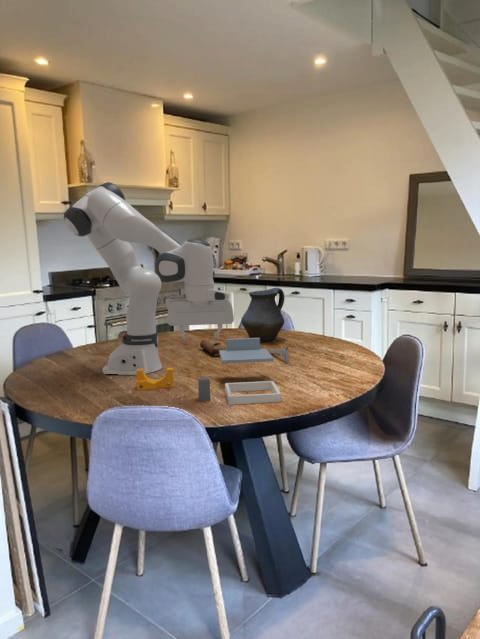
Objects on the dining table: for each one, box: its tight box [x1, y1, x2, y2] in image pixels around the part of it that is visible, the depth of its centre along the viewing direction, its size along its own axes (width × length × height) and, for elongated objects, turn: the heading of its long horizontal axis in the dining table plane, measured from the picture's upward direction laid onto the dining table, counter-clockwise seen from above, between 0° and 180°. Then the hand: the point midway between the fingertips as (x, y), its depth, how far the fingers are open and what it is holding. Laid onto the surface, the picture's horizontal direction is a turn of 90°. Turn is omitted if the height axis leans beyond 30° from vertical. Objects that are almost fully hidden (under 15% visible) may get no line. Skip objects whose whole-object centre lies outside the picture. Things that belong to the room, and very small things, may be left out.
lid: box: [219, 337, 274, 364], centre depth 177 cm, size 17×15×5 cm
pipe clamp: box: [135, 367, 175, 391], centre depth 174 cm, size 12×4×6 cm, turn 93°
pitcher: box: [240, 287, 285, 343], centre depth 245 cm, size 21×22×25 cm
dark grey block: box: [197, 376, 211, 402], centre depth 160 cm, size 4×4×7 cm
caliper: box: [268, 346, 290, 364], centre depth 211 cm, size 20×1×6 cm, turn 17°
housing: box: [224, 380, 282, 406], centre depth 162 cm, size 16×14×3 cm
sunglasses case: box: [199, 339, 226, 357], centre depth 225 cm, size 18×7×7 cm
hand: (201, 338), depth 158 cm, fingers open, 8 cm apart
